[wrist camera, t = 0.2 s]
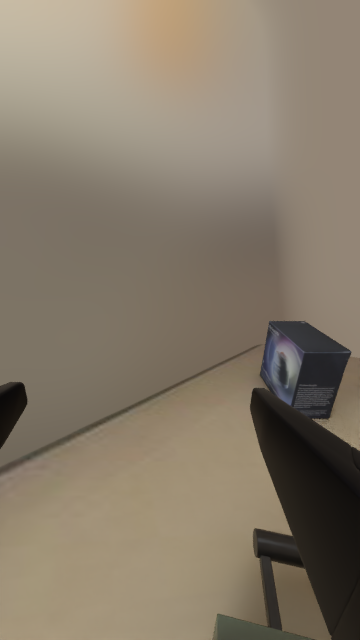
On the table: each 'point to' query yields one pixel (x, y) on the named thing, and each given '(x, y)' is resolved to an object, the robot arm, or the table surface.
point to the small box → (303, 367)
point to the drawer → (242, 636)
